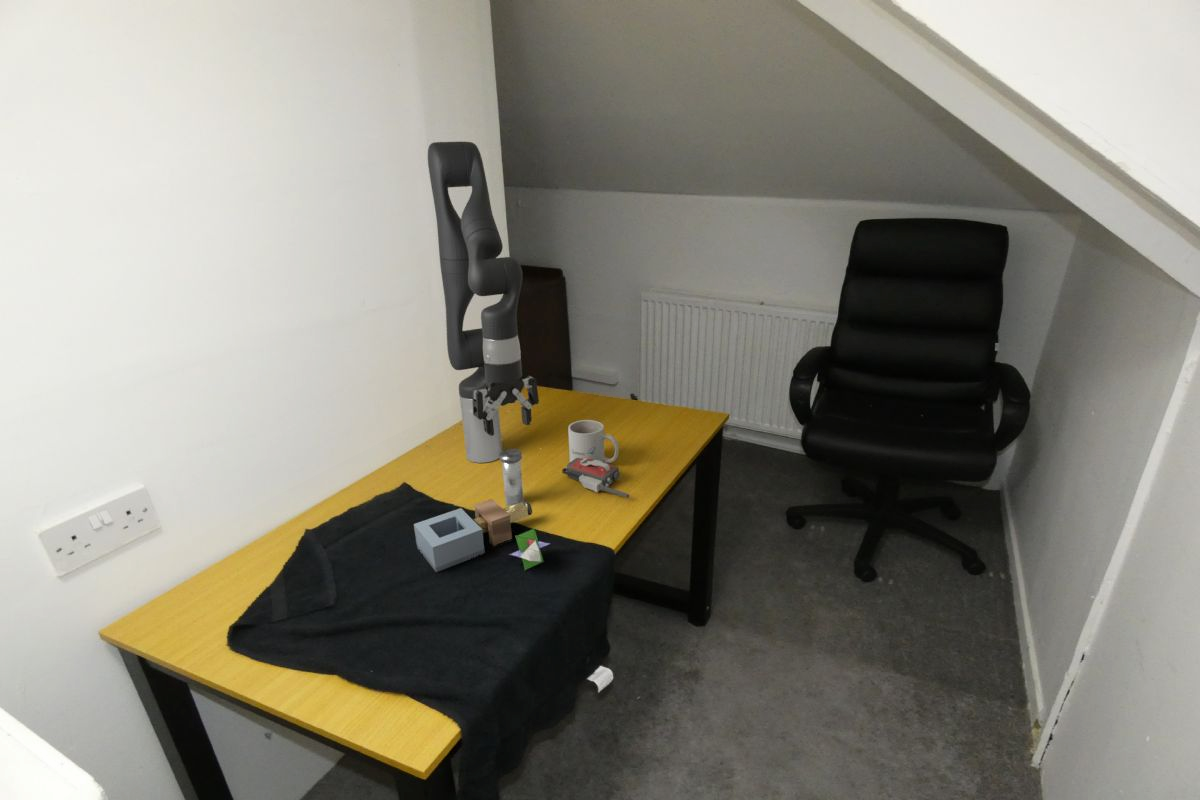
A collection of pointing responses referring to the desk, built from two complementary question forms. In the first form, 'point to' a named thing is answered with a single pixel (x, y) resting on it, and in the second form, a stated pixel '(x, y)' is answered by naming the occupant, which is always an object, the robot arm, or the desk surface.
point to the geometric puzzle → (529, 549)
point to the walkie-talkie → (594, 474)
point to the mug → (589, 441)
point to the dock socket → (449, 539)
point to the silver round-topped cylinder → (512, 476)
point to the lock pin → (514, 511)
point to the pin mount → (495, 521)
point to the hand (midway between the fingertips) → (508, 429)
